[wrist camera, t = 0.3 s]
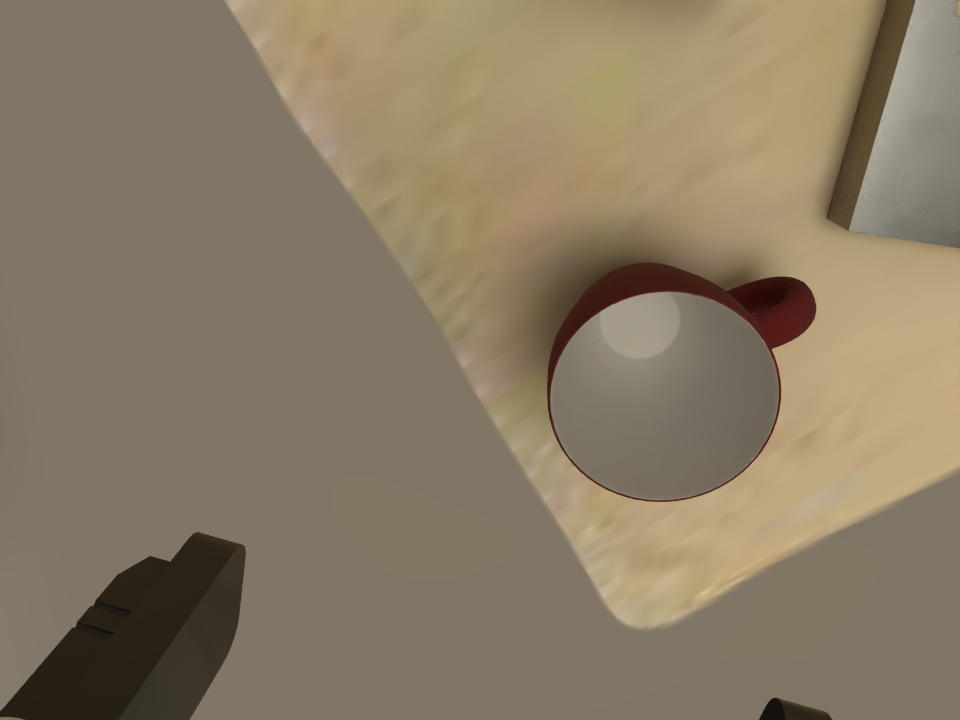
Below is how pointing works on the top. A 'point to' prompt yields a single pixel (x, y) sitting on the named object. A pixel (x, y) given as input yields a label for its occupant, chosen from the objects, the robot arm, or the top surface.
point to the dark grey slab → (907, 131)
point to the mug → (671, 378)
